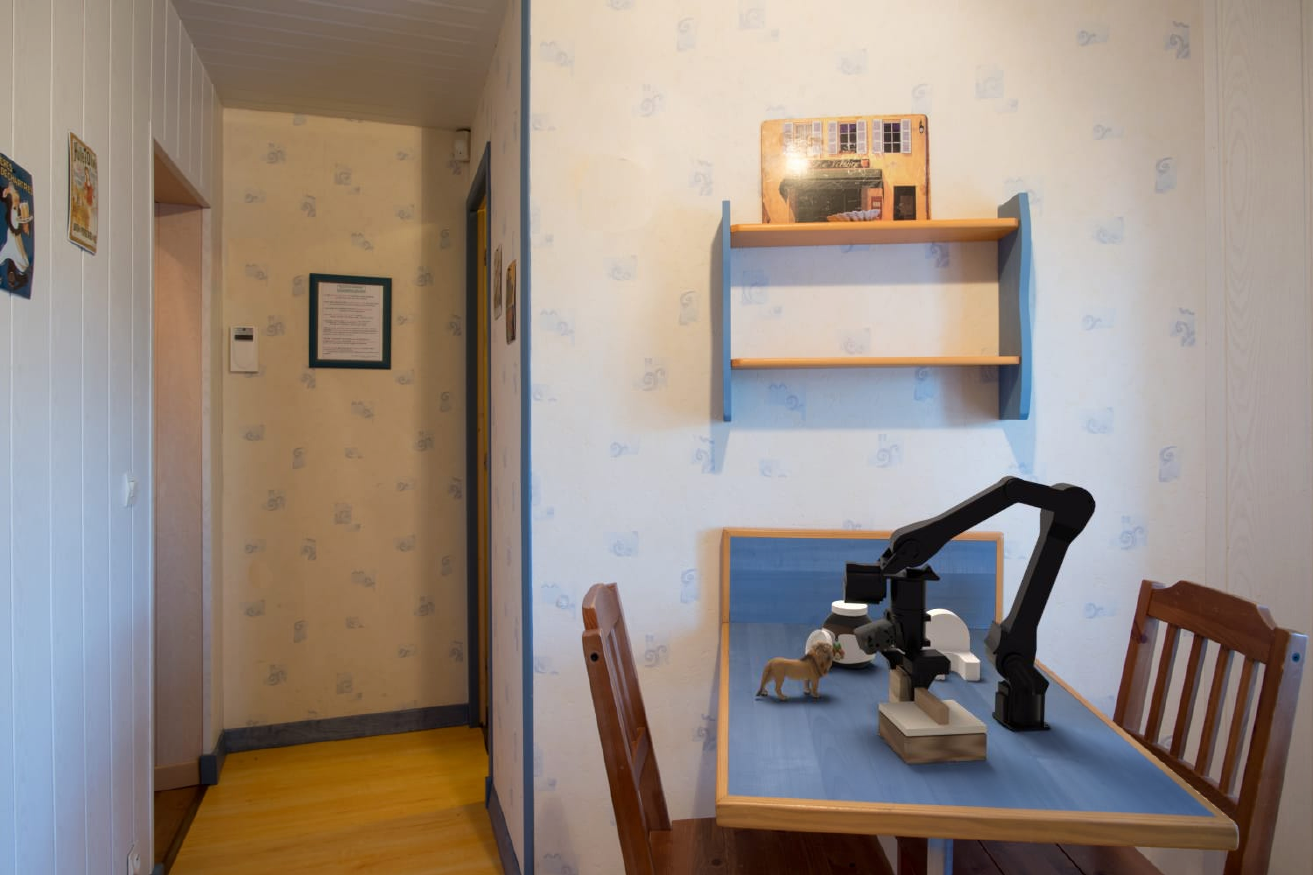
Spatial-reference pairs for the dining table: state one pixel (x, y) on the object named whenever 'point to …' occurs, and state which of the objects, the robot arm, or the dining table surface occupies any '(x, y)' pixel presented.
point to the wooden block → (898, 686)
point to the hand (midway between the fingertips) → (906, 700)
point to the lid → (931, 716)
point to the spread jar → (843, 634)
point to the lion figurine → (799, 669)
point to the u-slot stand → (952, 643)
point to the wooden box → (932, 745)
